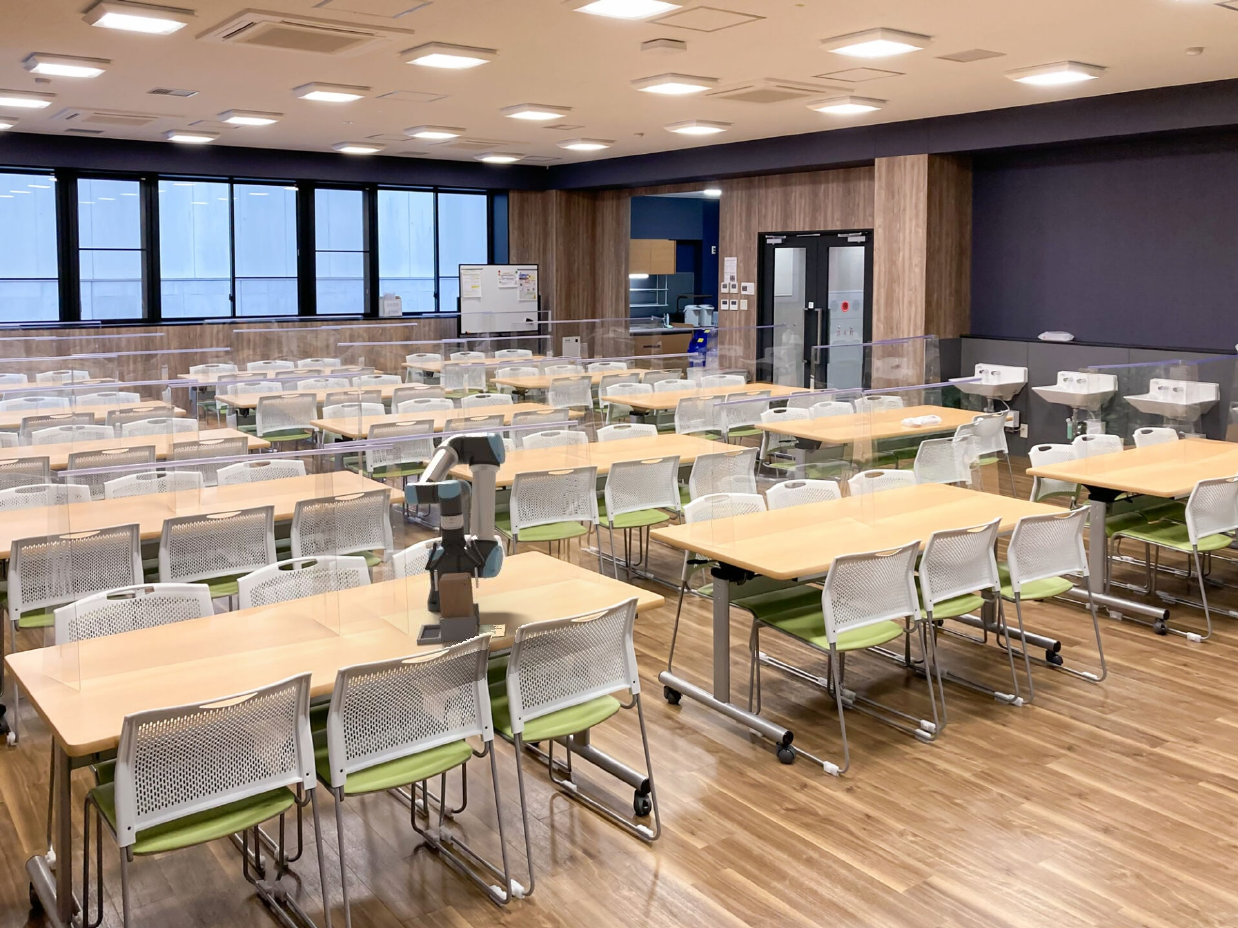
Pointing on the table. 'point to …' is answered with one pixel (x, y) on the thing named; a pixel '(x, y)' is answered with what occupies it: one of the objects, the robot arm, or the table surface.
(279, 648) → the table surface
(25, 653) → the table surface
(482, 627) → the pad
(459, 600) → the wooden block
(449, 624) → the channel
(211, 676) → the table surface
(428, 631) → the pit trap
